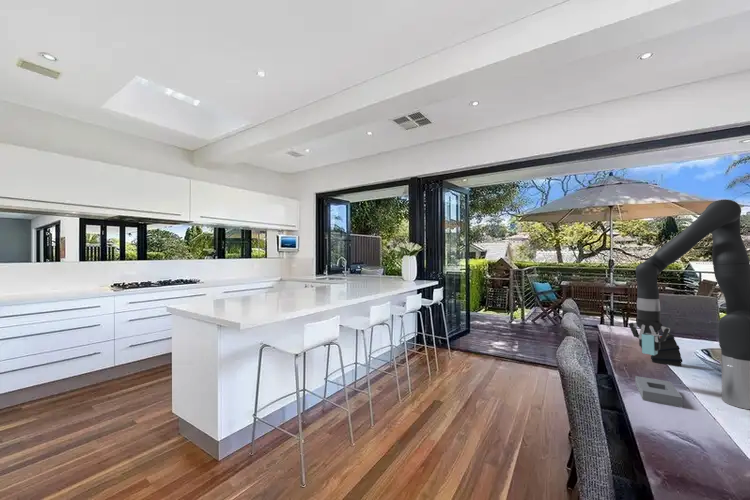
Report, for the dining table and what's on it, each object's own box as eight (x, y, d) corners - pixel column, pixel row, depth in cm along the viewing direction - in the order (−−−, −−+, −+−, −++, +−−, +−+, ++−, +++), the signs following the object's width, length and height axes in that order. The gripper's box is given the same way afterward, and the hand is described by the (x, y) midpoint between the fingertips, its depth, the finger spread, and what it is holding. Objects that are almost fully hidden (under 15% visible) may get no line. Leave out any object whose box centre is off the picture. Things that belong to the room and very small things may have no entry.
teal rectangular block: (657, 353, 133) (657, 334, 133) (654, 355, 131) (653, 336, 131) (645, 351, 137) (645, 332, 137) (642, 353, 135) (641, 334, 135)
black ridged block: (691, 365, 149) (672, 334, 153) (657, 371, 156) (640, 341, 160) (690, 363, 152) (671, 332, 156) (657, 369, 159) (640, 340, 163)
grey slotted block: (635, 384, 132) (635, 376, 132) (670, 390, 127) (670, 381, 127) (642, 399, 119) (642, 390, 119) (682, 407, 113) (682, 397, 113)
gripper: (673, 310, 130) (675, 351, 130) (631, 305, 142) (632, 343, 142) (667, 312, 126) (668, 355, 126) (624, 307, 138) (625, 346, 138)
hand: (649, 349), depth 134 cm, fingers closed on teal rectangular block, 4 cm apart
